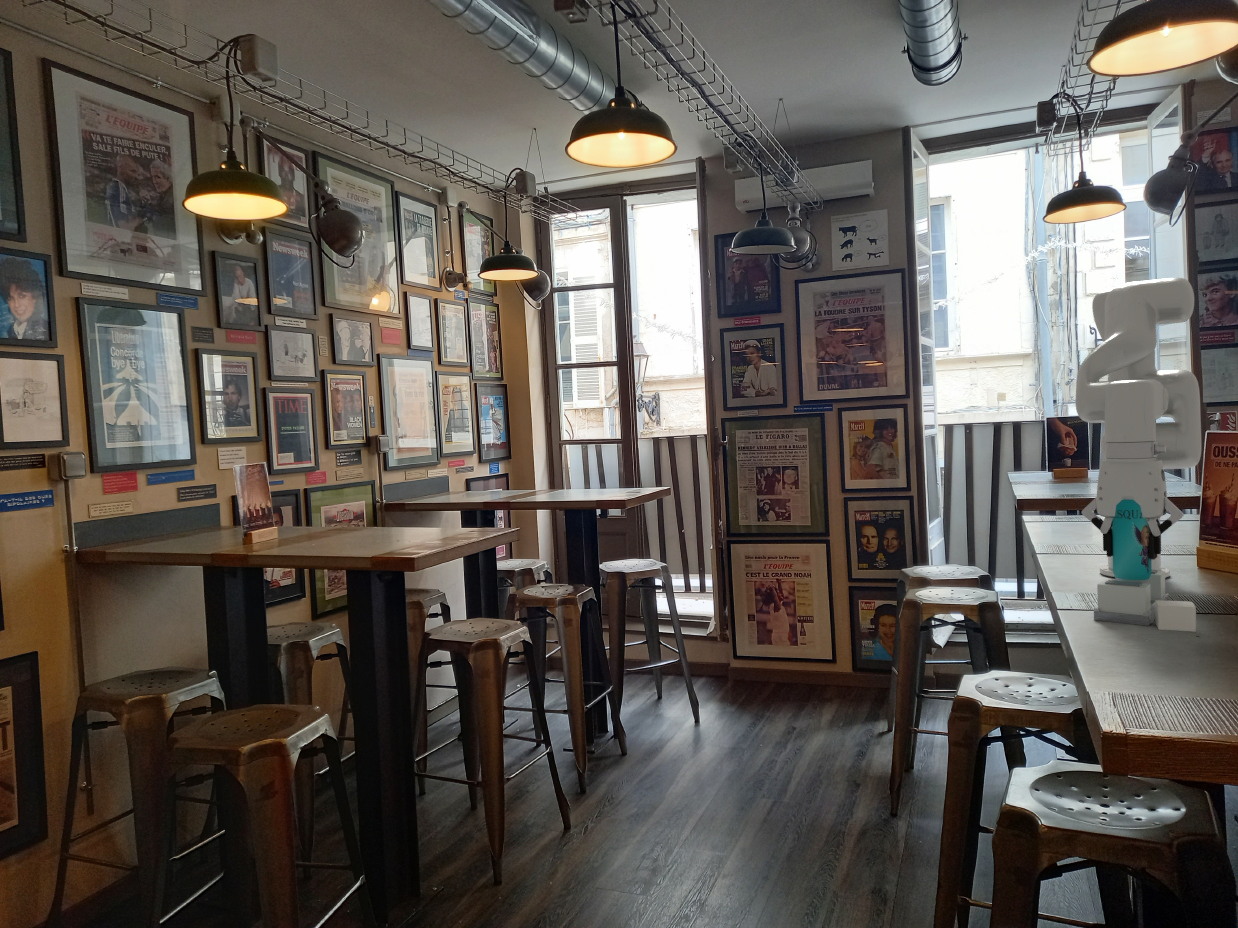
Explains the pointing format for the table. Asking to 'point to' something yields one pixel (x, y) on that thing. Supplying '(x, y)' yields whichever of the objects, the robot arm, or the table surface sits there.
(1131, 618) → the rail
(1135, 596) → the block
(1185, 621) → the block
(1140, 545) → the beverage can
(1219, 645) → the table surface
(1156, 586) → the module
